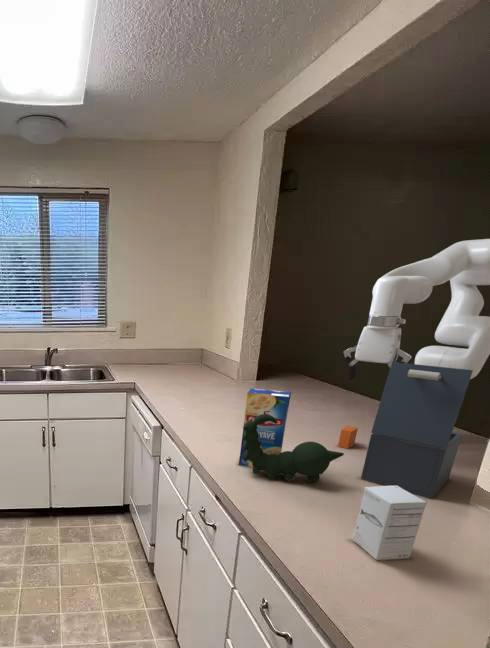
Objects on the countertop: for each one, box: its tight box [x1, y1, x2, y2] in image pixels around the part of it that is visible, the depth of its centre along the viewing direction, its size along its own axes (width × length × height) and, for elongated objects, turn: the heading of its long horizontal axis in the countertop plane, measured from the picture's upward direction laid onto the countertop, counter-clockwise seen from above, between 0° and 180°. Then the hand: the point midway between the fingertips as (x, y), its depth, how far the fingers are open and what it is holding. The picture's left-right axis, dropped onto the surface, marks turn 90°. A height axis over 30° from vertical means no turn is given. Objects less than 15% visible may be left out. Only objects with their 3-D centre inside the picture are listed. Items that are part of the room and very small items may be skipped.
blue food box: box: [238, 387, 292, 468], centre depth 127 cm, size 7×11×22 cm, turn 62°
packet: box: [337, 425, 359, 449], centre depth 144 cm, size 6×3×6 cm, turn 131°
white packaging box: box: [351, 485, 427, 561], centre depth 86 cm, size 7×7×13 cm
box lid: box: [370, 361, 473, 449], centre depth 106 cm, size 19×16×5 cm
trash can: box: [360, 432, 463, 499], centre depth 118 cm, size 18×16×13 cm
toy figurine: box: [242, 414, 345, 484], centre depth 118 cm, size 9×19×25 cm
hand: (370, 381), depth 131 cm, fingers open, 9 cm apart
